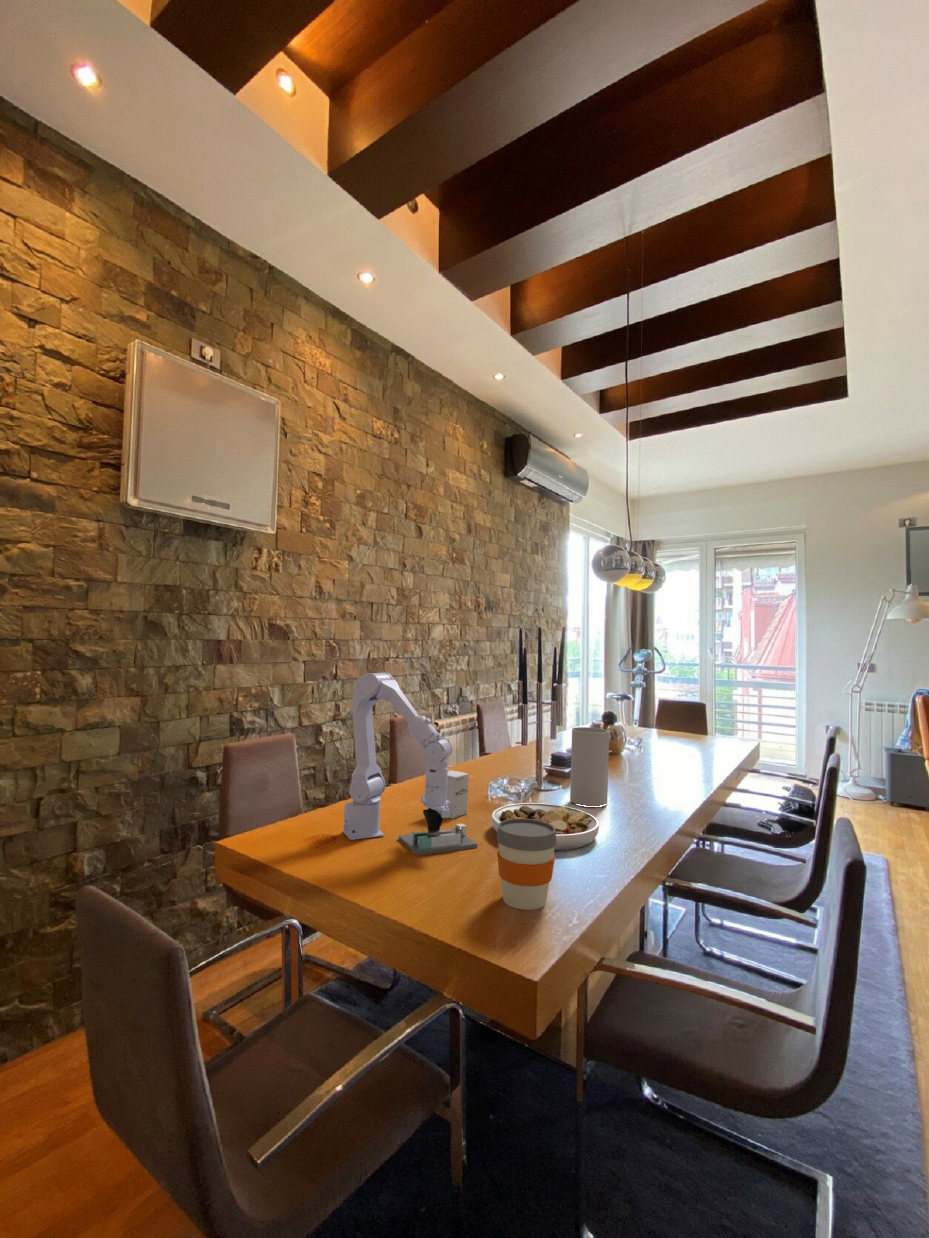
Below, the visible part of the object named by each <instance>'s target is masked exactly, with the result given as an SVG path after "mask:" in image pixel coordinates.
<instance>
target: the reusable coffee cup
mask: <svg viewBox="0 0 929 1238" xmlns="http://www.w3.org/2000/svg"><path fill="white" fill-rule="evenodd" d="M496 841H497V843H498V845H497V846H498V850H497V853H496V855H497V866H498V867H497V868H498V875H499V878H500V879H501V890H502V900H503V902H504V903H505V904H506V905H507V906H509V907H511V908H514V909H517V910H518V909H519V910H524V911H526V910H527V911H530V910H531V911H533V910H538V909H541V908H543V907H544V906H545V905H546V903H547V898H548V893H549V885H550V882H551V881H552V879H553V874H554V866H555V860H556V856H555V850H554V847H555V846H556V844H557V841H556V829H555V827H554V826H553V825H551V824H549V823H546V822H543V821H539V820H534V819H508V820H504V821H502V822H500V823H499V824H498V831H497V832H496Z"/></svg>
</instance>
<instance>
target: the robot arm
mask: <svg viewBox="0 0 929 1238" xmlns="http://www.w3.org/2000/svg"><path fill="white" fill-rule="evenodd" d="M379 700H382V701H386V702H389V703H390V704H391V706H393V707H394V708H395V710H396V711H397V712H398V713H399V714H400V715H401V716H402V718H403V719H404V720H405V721H406V722H407V723H408V725H407V726H408V727H407V731H408V732H409V733H410V734H411V736H412V737H413V738H414V740H415V741H416V742H417V743H418V745H419V746H420V747H421V748H422V749H423V750H422V754H423V758H424V759H425V761H426V766H425V781H424V783H425V785H424V794H422V795H421V796H420V797H421V798H420V802H421V803H422V805H423V806H424V807H426V808H427V809H423V810H422V814H423V816H424V817H425V820H426V825H427V831H436V830H441V829H440V828H441V825H442V823H443V822H444V819H448V818H449V817H450V809H449V808H448V805H450V801H448V800H446V795H447V776H448V771H449V757H450V756H451V755H452V752H453V745H452V743H451V742H450V740H449V739H448V738H447V737H443V735H442V733H441V732H438V731H437V730H436V728H435V727H434V726H433V725H432V720H431V718H430V717H426V716H425V715H419V714H418V713H417V711H416V710H415V708H414V706H413V705H412V704H411V703H410V701H409V700H408V698H407V696H405V694H404V693H403V691H402V689H401V688H400V686H399V683H398V682H397V681H396V680H395V679H394V677H393V676H392V674H391V673H389V672H387V671H386V672H385V671H381V672H373V673H371V672H366V673H364V674H363V675H361V676H360V677H359V678H358V679H357V680H356V682H355V691H354V693H353V697H352V699H351V710H352V711H351V713H352V725H353V726H352V727H353V737H354V750H355V762H356V767H355V769H354V770H353V772H352V774H351V783H350V786H349V790H348V791H349V795H350V798H351V799H352V801H350V802H346V803H345V805H344V808H343V809H344V812H343V828H342V832H343V834H344V835H345V836H346V838H348V839H349V841H353V840H354V841H355V840H360V839H361V840H363V839H371V838H377V837H379V838H381V837H384V836H385V834H384V833H383V832H382V830H380V823H381V821H380V819H381V798H382V794H383V793H384V792H385V790H386V785H387V784H386V780H385V778H384V776H383V772H382V768H381V767H380V766H379V764H377V755H376V742H375V731H374V729H375V728H374V727H375V726H374V718H373V706H374V705H376V703H377V702H378V701H379ZM449 819H450V818H449Z"/></svg>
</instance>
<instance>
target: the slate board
mask: <svg viewBox="0 0 929 1238" xmlns="http://www.w3.org/2000/svg"><path fill="white" fill-rule="evenodd" d="M451 830H452V833H455V828H451ZM398 840H399V841H400V842H401V843H402V842H403V843H402V844H403V845H404V846H405V845H406V846H407V847H406V848H407V849H408V850H410V852H412V853H413V854H414V856H416V855H419V856H425V854H426V855H433V854H432V853H434V854H440V853H439V852H441V853H445V852H447V853H448V852H455V851H461V850H469V849H476V848H478V843H477V842H476V841H474V840H473V839H471V837H468V836H467V834H466V835H463V839H462V843H461V845H456V846H448V847H441V848H433V849H426V850H418V849H417V845H415V846H413V845H412V833H408V834H407V833H406V834H398Z"/></svg>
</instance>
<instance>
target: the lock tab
mask: <svg viewBox="0 0 929 1238" xmlns="http://www.w3.org/2000/svg"><path fill="white" fill-rule="evenodd" d="M455 827H463V835H466V836H467V825H466V824H464V823H455Z"/></svg>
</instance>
